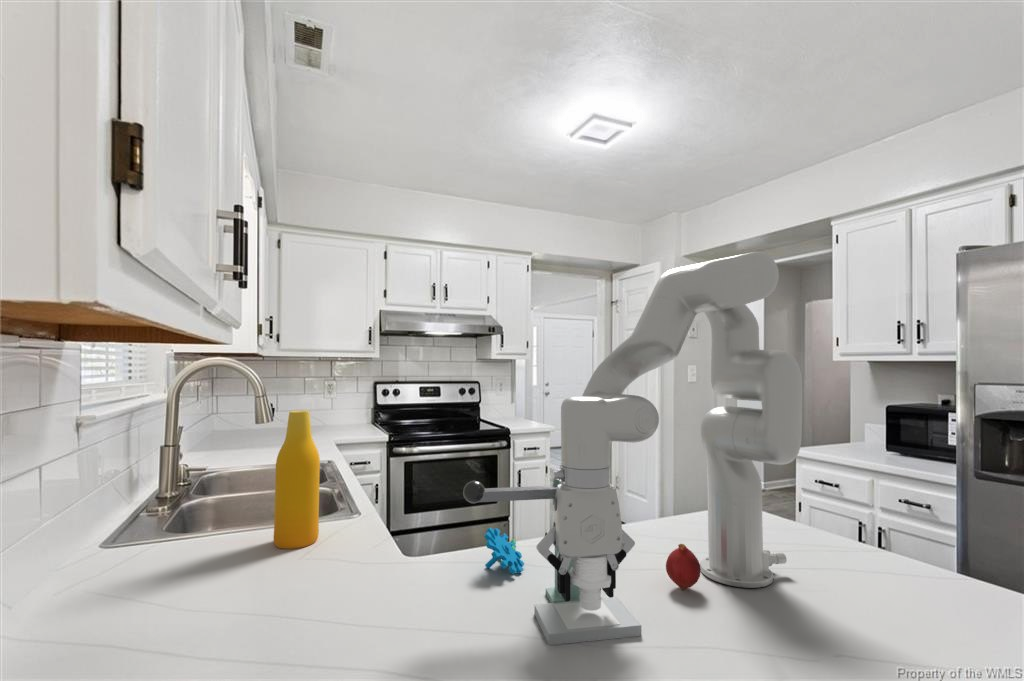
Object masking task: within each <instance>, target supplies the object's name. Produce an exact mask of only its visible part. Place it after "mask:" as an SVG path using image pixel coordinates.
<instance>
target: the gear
mask: <svg viewBox="0 0 1024 681" xmlns="http://www.w3.org/2000/svg"><path fill="white" fill-rule="evenodd" d="M500 534H501V530H500V529H499V528H497V527H495V528H494V529H493V527H488V529H487V530H486V532H485V534H484V535H483V537H484V539H485V540H487V541H486V542H485V546H486V548H487V549H490V550H492V552H491V557H492V558H491V559H489V560H488V561H487V562H486V563H485V568H486V569H488V570H489V569H490V568H491V567H492V566H493V565H494V564H496V563H497V561H500V562H499V565H500V566H501V568H502V569H503V570H505V569H506V568H507V567H508V566H509V567H508V571H509V573H511V574H512V575H514V574H515V573H517V574H521V573H522V572H523V567H524V565H525V561H523V560H522V557H523V555H522V552H521V551H517V550H516V548H517V545H516V544H517V541H516V539H514V538H513V539H512V540H511V541H508V539H509V536H508V534H506V533H505V532H503V533H502V534H501V535H500ZM501 560H502V561H501Z"/></svg>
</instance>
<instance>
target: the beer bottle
mask: <svg viewBox="0 0 1024 681" xmlns="http://www.w3.org/2000/svg"><path fill="white" fill-rule="evenodd" d="M286 426H287V427H286V434H285V437H284V438H285V439H284V441H283V444H282V445H281V447H280V449H279V451H278V454H277V458H276V462H275V479H274V480H275V483H274V484H275V485H274V486H275V489H274V490H275V491H274V519H273V520H274V521H273V522H274V523H273V526H274V527H273V543H274V545H275V547H277V548H279V549H283V550H293V549H295V550H296V549H300V548H305V547H309V546H310V545H313V544H314V543H316V542H317V540H318V539H319V532H320V531H319V530H320V529H319V526H320V524H319V523H320V521H319V519H320V518H319V517H320V516H319V515H320V514H319V512H320V509H319V508H320V476H321V475H320V472H321V470H320V468H321V458H320V454H319V451H318V448H317V446H316V444H315V441H314V439H313V435H312V428H311V427H312V425H311V415H310V411H309V410H291V411H289V414H288V419H287V425H286Z"/></svg>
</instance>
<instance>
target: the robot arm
mask: <svg viewBox="0 0 1024 681" xmlns="http://www.w3.org/2000/svg"><path fill="white" fill-rule="evenodd" d="M779 278H780V274H779V267H778V264H777V262H776V261H775V260H774V259H773V257H772V256H770V255H769V254H767V253H766V252H763V251H751V252H746V253H741V254H737V255H732V256H727V257H723V258H722V257H721V258H718V259H712V260H708V261H704V262H699V263H694V264H688V265H685V266H680V267H675V268H672V269H669V270H667V271H666V272H664V273H663V274H662V275H661V276H660V277H659V278H658V279H657V281H656V284H655V286H654V287H653V290H652V292H651V294H650V297H649V298H648V300H647V302H646V304H645V307H644V309H643V311H642V313H641V315H640V317H639V319H638V321H637V323H636V325H635V327H634V330H633V331H632V333H631V335H630V336H629V337H627V339H625V340H624V341H623V342H622V343H620V344H619V345H618V346H617V347H616V348H615V349H614V350H613V351H612V352H611V353H610V354H609V355H608V356H607V357H606V358H604V360H603V361H602V362H601V363H599V365H598V366H597V367H596V368H595V370H594V371H593V374H591V376H590V378H589V381H588V382H587V384H586V386H585V389H584V390H583V393H582V396H571V397H567V398H565V399H564V400H562V403H561V406H560V448H561V450H560V452H561V454H560V455H561V456H560V458H561V461H560V462H561V464H560V465H559V469H556V470H552V474H551V475H552V481H553V480H556V479H558V480H560V482H561V484H559V485H558V486H557V491H556V496H555V503H554V505H553V512H552V513H553V514H552V528H551V529H550V530H548V532H547V533H546V534H545V536H544V537H543V538H542V539H541V540H540V541H539V542H538V544H536V547H535V548H536V550H537V552H538V553H539V554H540V555H541V556H542V557H543V558H544V559H545V560H546V561H547V562H548V563H549V564H550V565H551V566H552V567H553V568H554V570H555V569H556V570H557V590H558V592H559V594H561V595H562V597H563V598H564V600H565V602H567V601H569V600H570V574H569V573H568V567H569V564H570V561H571V559H572V558H579V557H593V556H605V555H606V556H607V574H608V575H609V576H611V584H610V587H608V588H601V591H603V592H604V593H605V595H606V596H607V597H608V598H614V595H615V594H614V592H615V591H614V590H615V589H616V587H617V584H616V582H617V580H616V579H617V573H616V571H618V570H619V568H620V564H621V563H622V562H623V561H624V559H625V558H626V557H627V554H628V553H629V552H630V551H632V549H633V548H634V547H635V545H636V542H635V540H634V539H633V538H632V537H631V536H630V535H628V533H626V531H625V530H624V529H623V526H622V525H623V524H622V516H621V509H620V501H619V496H618V491H617V487H616V486H615V485H614V484H612V483H611V443H612V442H618V443H620V442H621V443H632V444H633V443H634V444H635V443H641V442H643V441H646V440H648V439H650V438H651V437H652V436H653V435H654V434H655V432H656V431H657V429H658V427H659V422H660V416H659V412H658V410H657V408H656V406H655V404H654V403H652V401H650V400H648V399H647V398H645V397H643V396H640V395H635V394H624V391H625V390H626V389H627V388H628V387H629V386H630V385H631V383H633V382H634V381H635V380H637V379H638V378H639V377H641V376H643V375H645V374H647V373H649V372H650V371H653V370H655V369H658V368H660V367H663V366H664V365H666V364H668V363H670V362H671V361H673V360H674V359H676V358H677V357H678V356H679V354H680V352H681V350H682V347H683V345H684V343H685V341H686V338H687V336H688V333H689V331H690V329H691V327H692V324H693V321H695V320H694V319H695V318H696V316H697V315H698V314H701V313H704V314H705V316H706V317H707V319H708V322H709V325H710V331H711V348H710V349H711V350H710V351H711V352H710V357H711V359H710V382H711V388H712V390H713V392H714V393H715V394H716V395H718V396H719V397H721V398H724V399H728V400H729V399H730V400H736V401H737V400H739V401H749V402H750V401H752V402H761V408H753V407H744V406H742V407H741V406H732V405H731V406H727V405H726V406H717V407H713V408H711V409H710V410H709V411H707V412H706V413H705V414H704V416H703V418H702V420H701V423H700V436H701V441H702V442H701V443H702V446H703V450H704V455H705V462H706V476H707V477H706V478H707V479H706V480H707V481H706V482H707V488H706V489H707V537H708V538H707V539H708V548H707V549H708V557H705V558H703V559H702V560H700V561H699V564H700V568H701V572H700V573H702V574H703V575H704V576H705V577H707V578H709V580H713V581H715V582H717V583H720V584H723V585H726V586H730V587H731V586H732V587H736V588H743V589H745V588H746V589H758V588H764V587H768V586H769V585H771V584H772V583H773V582H774V575H773V574H774V573H773V571H772V570H771V569H770V568H769V567H772V565H783V564H787V556H786V554H785V553H784V552H773V553H771V551H770V550H769V549H764V538H763V537H764V536H763V535H764V533H763V532H764V531H763V488H762V487H763V486H762V480H761V477H760V474H759V472H758V471H759V470H758V469H757V468H756V466H755V464H754V462H760V463H763V464H764V463H765V464H771V465H778V466H779V465H780V466H782V465H783V466H784V465H787V464H790V463H792V462H794V461H795V459H796V458H797V457H798V455H799V453H800V450H801V446H802V444H801V443H802V438H803V436H802V432H803V429H802V428H803V426H802V424H803V376H802V371H801V368H800V366H799V363H798V362H797V360H796V359H795V357H794V356H793V355H792V354H790V353H789V352H788V351H785V350H780V349H760V328H759V327H760V326H759V323H758V320H757V318H756V316H755V314H754V313H753V312H752V310H751V309H750V308H749V307H748V306H747V305H748V304H751V303H755V302H758V301H761V300H763V299H766V298H767V297H769V296H770V295H771V294H772V293H774V291H775V289H776V288H777V285H778V282H779ZM552 545H553V546H554V548H555V547H557V550H558V555H557V557H556V556H555V553H553V552H552V551H551V550H550V548H551V547H552Z"/></svg>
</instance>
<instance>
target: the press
mask: <svg viewBox="0 0 1024 681" xmlns="http://www.w3.org/2000/svg"><path fill="white" fill-rule="evenodd" d="M559 484H561V482H560V480H558V479H556V480H553V479H552V486H555V485H559ZM554 503H555V499H552V505H553V506H554ZM554 555H555V556H556V557H557V555H558V550H557V547H555V546H554ZM572 567H573V558H572V559H571V561H570V564H569V567H568V573H569V571H570V569H571V568H572ZM545 596H546V597H547V599H548V601H549V602H548V603H547V602H545V603H539V604H536V603H535V604H534V605H533V606H534V610H533V611H534V616H535V618H536V620H537V622H538V625H539V627H540V629H541V632H542V633H543V635H544V638H545V641H546V642H547V645H548V646H555V645H556V646H557V645H564V644H574V643H584V642H594V641H603V640H604V641H605V640H613V639H623V638H633V637H642V624H641V623H640V621H638V620H637V618H636V617H635V616H634V614H632V612H631V611H630V610H629V609H628V607H627V606H626V605H625V604H624V603H623V602H622V601H621V599H619V597H618V596H616V597H611V598H610V597H608V598H605V597H604V598H601V607H600V609H598V610H593V611H590V610H585V609H583V608H582V607H581V606H580V599H579V596H580V591H579V587H578V586H576V585H573V584H571V583H570V600H569V601H567V602H565V600H564V598H563V597H562V595H561V594H559V592H558V590H557V570H556V569H555V568H554V586H553V587H545Z"/></svg>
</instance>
